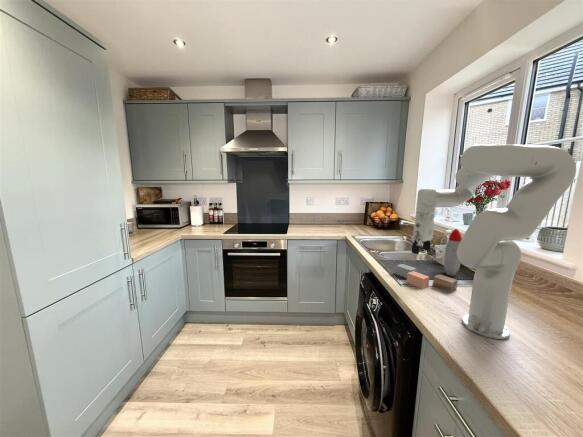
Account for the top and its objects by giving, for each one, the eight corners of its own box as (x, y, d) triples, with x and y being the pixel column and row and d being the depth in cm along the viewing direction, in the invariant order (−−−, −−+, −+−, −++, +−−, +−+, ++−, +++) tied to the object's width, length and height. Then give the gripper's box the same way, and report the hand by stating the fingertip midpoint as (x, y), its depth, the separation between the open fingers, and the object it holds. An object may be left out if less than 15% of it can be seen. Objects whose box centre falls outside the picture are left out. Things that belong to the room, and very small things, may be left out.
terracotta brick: (422, 289, 109) (423, 279, 108) (406, 282, 116) (407, 272, 115) (428, 286, 111) (429, 276, 111) (412, 280, 118) (413, 271, 117)
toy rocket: (463, 277, 122) (470, 230, 118) (447, 276, 123) (453, 230, 119) (454, 271, 130) (460, 227, 126) (439, 271, 130) (444, 227, 126)
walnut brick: (450, 293, 105) (452, 282, 105) (432, 286, 112) (433, 276, 111) (456, 290, 108) (457, 280, 107) (438, 283, 115) (439, 274, 114)
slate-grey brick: (410, 279, 119) (411, 270, 118) (395, 274, 126) (396, 265, 125) (415, 277, 122) (416, 268, 121) (400, 272, 128) (401, 263, 128)
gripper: (422, 218, 100) (418, 257, 103) (442, 215, 110) (438, 250, 113) (406, 216, 106) (402, 252, 109) (426, 213, 116) (422, 247, 119)
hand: (420, 251), depth 111 cm, fingers open, 9 cm apart
